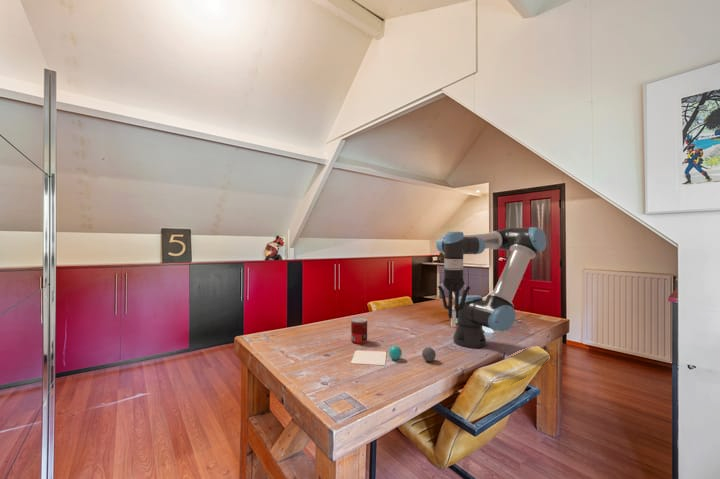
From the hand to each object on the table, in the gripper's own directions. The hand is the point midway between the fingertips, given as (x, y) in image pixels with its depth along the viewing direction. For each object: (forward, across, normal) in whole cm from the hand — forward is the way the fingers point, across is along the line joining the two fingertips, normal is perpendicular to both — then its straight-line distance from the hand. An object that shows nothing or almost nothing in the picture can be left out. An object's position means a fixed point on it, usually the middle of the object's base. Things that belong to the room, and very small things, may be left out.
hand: (453, 325), depth 122 cm
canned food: (+15, -42, +19) cm, 49 cm away
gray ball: (+12, -10, 0) cm, 16 cm away
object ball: (+12, -24, 0) cm, 27 cm away
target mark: (+15, -35, 0) cm, 38 cm away
